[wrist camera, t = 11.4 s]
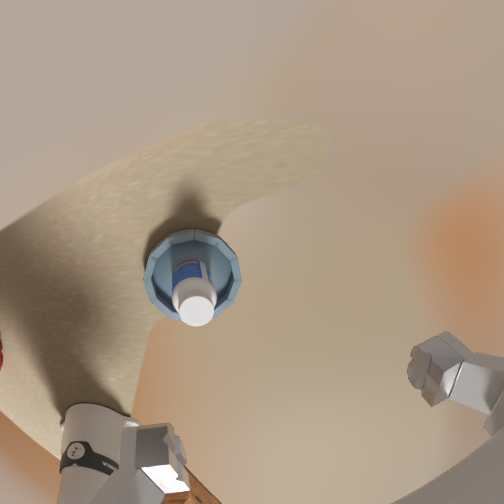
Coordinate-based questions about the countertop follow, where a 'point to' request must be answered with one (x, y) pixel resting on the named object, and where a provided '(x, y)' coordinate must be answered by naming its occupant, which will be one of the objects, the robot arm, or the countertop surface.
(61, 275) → the countertop surface
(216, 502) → the wooden box
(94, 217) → the countertop surface
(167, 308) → the dish
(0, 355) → the vegetable
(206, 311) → the pill bottle
